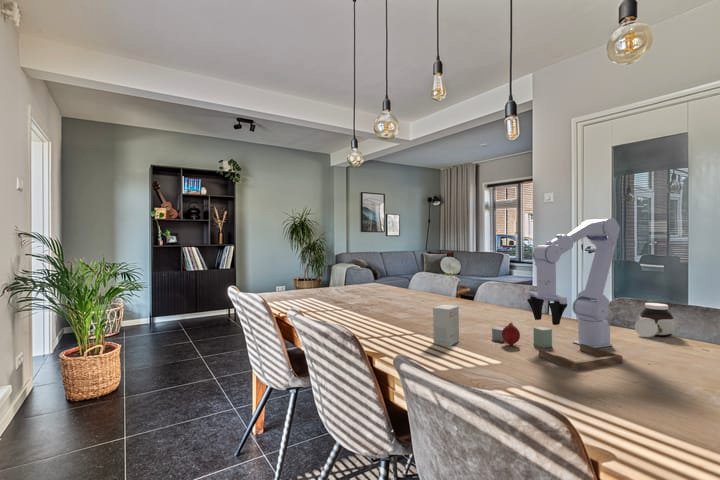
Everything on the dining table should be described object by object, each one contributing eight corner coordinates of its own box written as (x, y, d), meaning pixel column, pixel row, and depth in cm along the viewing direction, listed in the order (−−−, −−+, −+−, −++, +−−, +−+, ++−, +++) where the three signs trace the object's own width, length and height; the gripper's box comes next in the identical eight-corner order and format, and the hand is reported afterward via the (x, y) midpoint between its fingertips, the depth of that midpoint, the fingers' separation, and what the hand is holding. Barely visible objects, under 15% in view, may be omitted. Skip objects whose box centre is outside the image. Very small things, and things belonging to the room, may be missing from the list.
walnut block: (582, 349, 121) (582, 343, 121) (622, 362, 108) (622, 355, 108) (538, 356, 115) (538, 349, 115) (575, 370, 103) (575, 363, 103)
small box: (443, 338, 136) (443, 303, 136) (459, 341, 132) (459, 305, 132) (432, 343, 130) (432, 307, 130) (449, 346, 126) (448, 309, 126)
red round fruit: (521, 348, 124) (521, 324, 124) (503, 347, 125) (503, 324, 125) (518, 343, 129) (517, 320, 129) (500, 342, 130) (500, 320, 130)
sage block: (542, 343, 129) (542, 326, 129) (552, 346, 125) (551, 329, 125) (533, 344, 128) (533, 327, 128) (542, 347, 124) (542, 330, 124)
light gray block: (498, 337, 138) (498, 326, 138) (508, 339, 135) (507, 328, 135) (492, 339, 136) (492, 328, 136) (502, 341, 132) (502, 330, 132)
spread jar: (672, 334, 138) (671, 303, 138) (678, 341, 129) (677, 309, 129) (632, 330, 145) (632, 301, 145) (635, 337, 135) (635, 306, 135)
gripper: (520, 279, 127) (521, 318, 127) (554, 284, 113) (554, 328, 113) (537, 278, 129) (537, 316, 129) (572, 283, 115) (572, 326, 115)
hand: (546, 322), depth 121 cm, fingers open, 7 cm apart
